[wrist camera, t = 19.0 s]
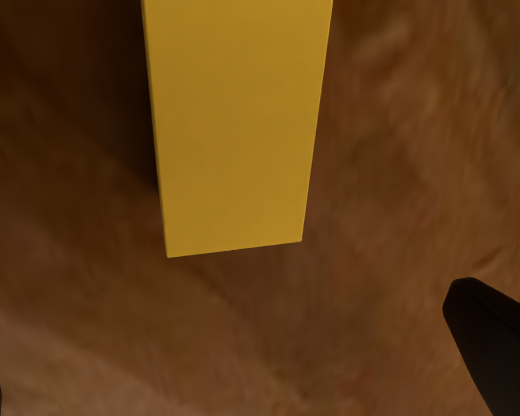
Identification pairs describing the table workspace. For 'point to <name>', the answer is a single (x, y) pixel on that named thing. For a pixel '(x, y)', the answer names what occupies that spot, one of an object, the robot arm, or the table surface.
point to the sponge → (234, 117)
